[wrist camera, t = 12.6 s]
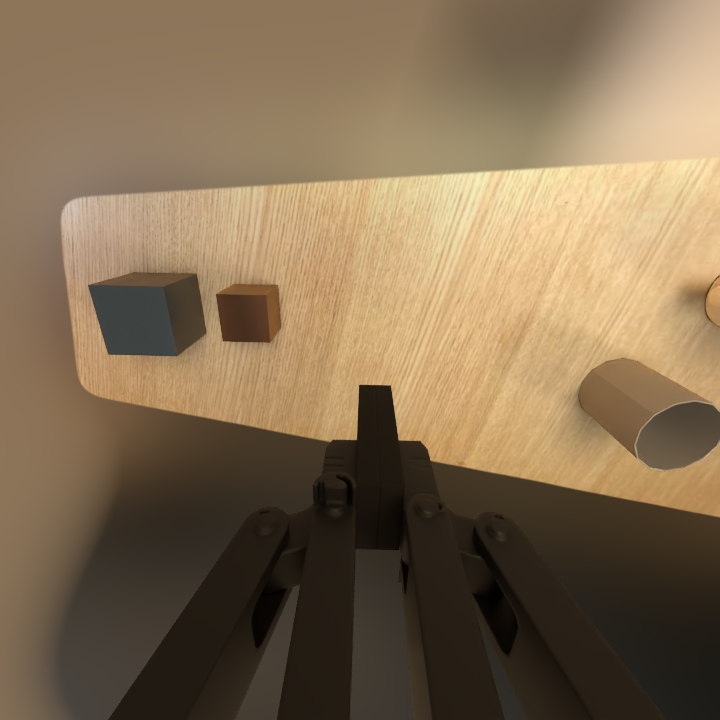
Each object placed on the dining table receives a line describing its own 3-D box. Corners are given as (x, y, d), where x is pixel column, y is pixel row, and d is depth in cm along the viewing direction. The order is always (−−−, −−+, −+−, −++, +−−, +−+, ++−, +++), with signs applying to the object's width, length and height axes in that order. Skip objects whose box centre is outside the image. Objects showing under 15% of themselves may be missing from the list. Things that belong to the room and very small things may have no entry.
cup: (653, 403, 44) (728, 454, 35) (587, 426, 46) (642, 481, 37) (642, 347, 41) (721, 387, 32) (572, 374, 43) (628, 419, 34)
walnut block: (278, 285, 39) (266, 295, 34) (281, 327, 41) (270, 342, 36) (233, 284, 39) (215, 294, 34) (238, 326, 41) (222, 341, 36)
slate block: (196, 273, 39) (162, 286, 32) (206, 333, 41) (177, 356, 35) (134, 272, 39) (87, 284, 32) (148, 332, 41) (108, 354, 35)
